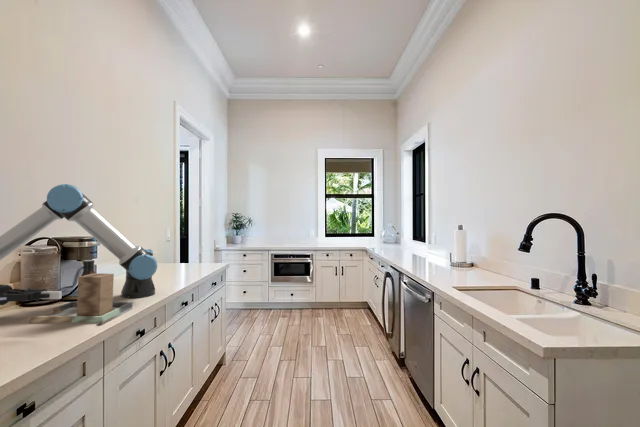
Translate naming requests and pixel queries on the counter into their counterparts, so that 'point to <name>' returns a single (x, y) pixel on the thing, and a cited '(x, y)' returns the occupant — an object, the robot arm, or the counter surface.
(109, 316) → the bay end wall
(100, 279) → the walnut block
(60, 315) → the grey flat tray
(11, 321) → the counter surface
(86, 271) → the sauce bottle
